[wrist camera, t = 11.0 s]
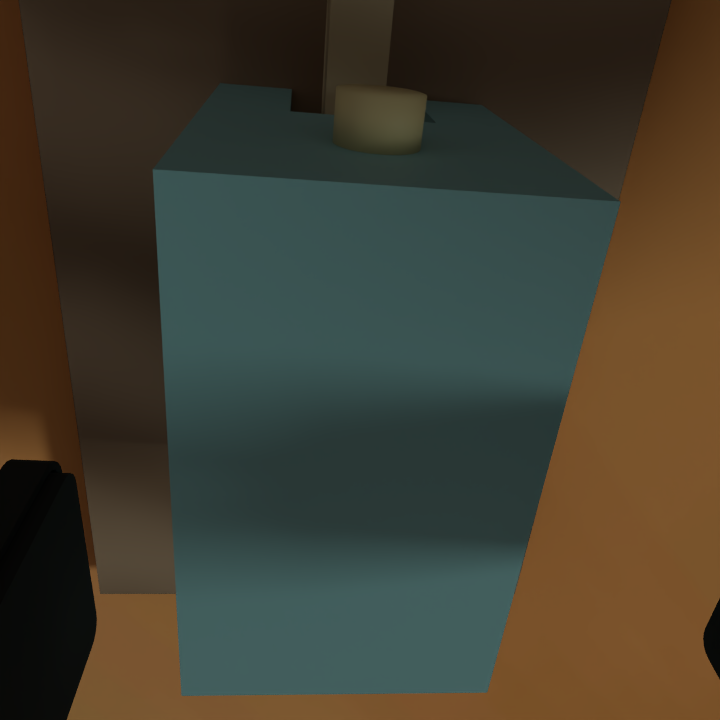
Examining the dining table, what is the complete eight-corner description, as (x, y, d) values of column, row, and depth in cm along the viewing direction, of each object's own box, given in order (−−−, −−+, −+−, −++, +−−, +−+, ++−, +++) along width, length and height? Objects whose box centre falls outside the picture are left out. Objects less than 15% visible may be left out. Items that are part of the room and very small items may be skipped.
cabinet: (219, 43, 15) (148, 100, 8) (487, 67, 16) (637, 139, 9) (223, 447, 20) (181, 695, 13) (424, 453, 21) (487, 691, 14)
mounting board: (3, -278, 13) (-77, -347, 10) (694, -191, 15) (787, -231, 12) (109, 566, 24) (83, 645, 21) (505, 568, 25) (531, 641, 22)
